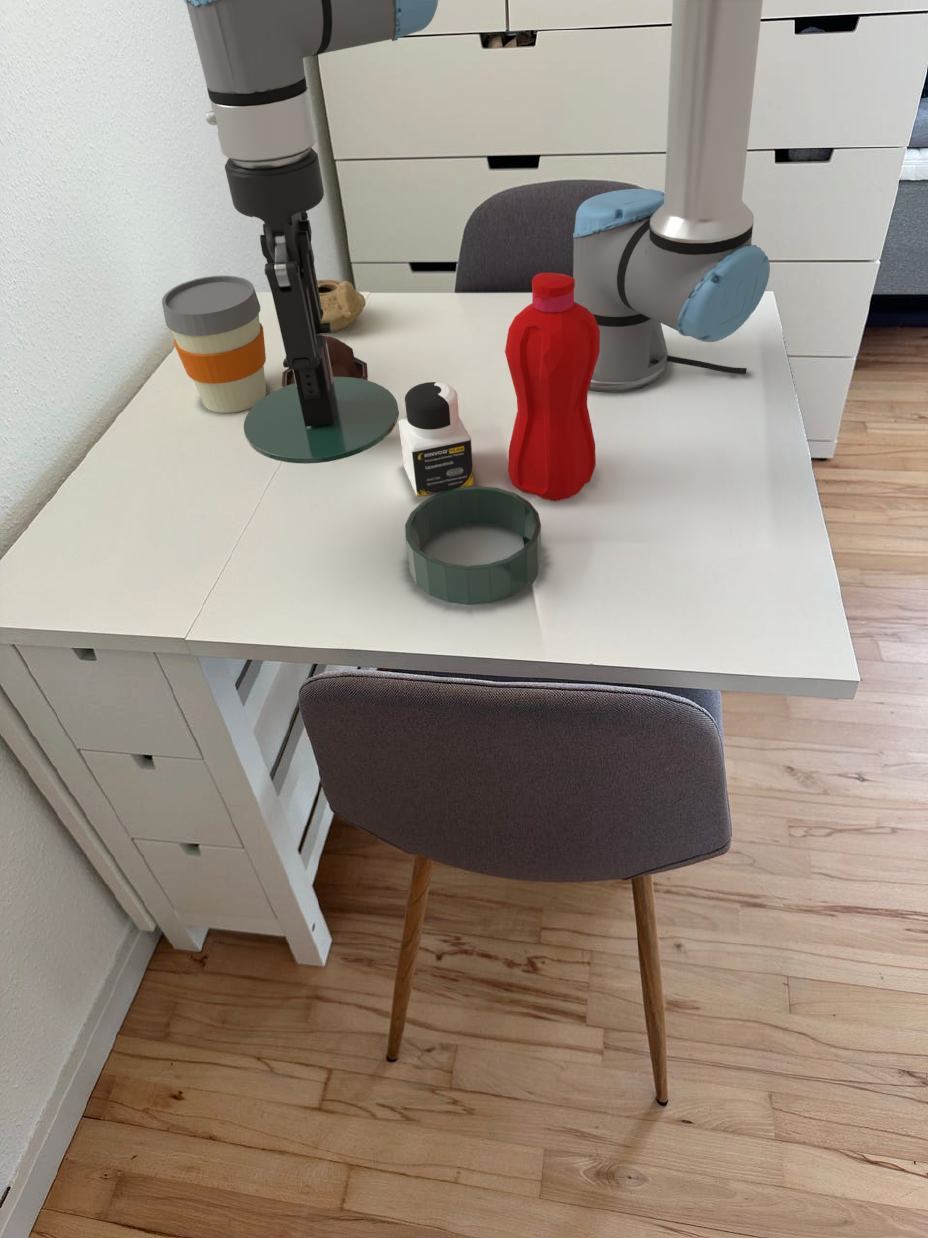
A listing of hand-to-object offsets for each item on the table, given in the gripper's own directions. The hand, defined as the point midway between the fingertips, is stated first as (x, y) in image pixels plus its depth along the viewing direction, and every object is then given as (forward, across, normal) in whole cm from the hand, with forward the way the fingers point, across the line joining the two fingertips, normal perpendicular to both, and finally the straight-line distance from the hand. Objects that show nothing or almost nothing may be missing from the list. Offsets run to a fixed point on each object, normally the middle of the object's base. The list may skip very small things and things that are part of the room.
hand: (320, 411), depth 88 cm
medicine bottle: (+19, -14, +11) cm, 25 cm away
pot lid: (+1, 0, 0) cm, 1 cm away
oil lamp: (+19, -60, -6) cm, 63 cm away
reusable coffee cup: (+18, -38, -18) cm, 46 cm away
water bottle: (+19, -12, +25) cm, 33 cm away
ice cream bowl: (+18, -24, -2) cm, 31 cm away
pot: (+18, +3, +14) cm, 23 cm away
